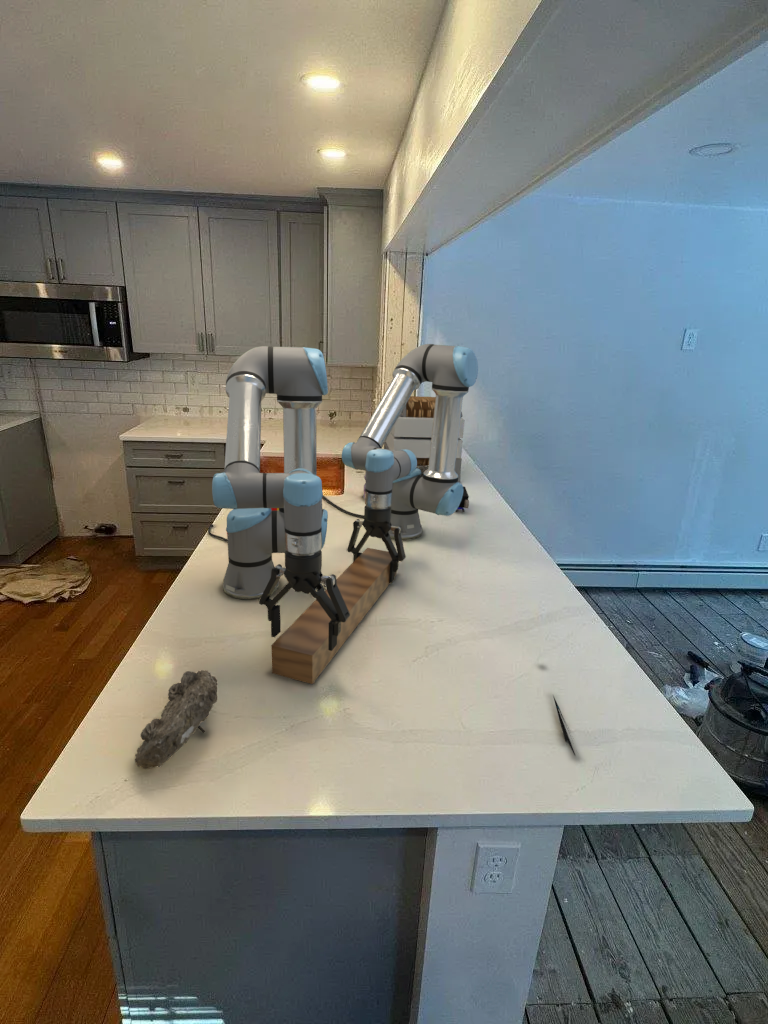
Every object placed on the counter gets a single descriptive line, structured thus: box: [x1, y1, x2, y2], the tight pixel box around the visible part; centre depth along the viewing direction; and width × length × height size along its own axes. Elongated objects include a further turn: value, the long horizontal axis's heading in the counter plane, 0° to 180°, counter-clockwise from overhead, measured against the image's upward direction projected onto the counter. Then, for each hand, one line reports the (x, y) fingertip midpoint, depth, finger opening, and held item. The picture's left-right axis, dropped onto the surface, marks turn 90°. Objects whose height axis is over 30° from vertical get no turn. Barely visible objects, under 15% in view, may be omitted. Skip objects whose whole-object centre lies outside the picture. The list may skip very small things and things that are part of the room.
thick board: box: [270, 547, 398, 685], centre depth 144 cm, size 57×10×7 cm, turn 161°
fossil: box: [134, 669, 218, 770], centre depth 103 cm, size 22×10×15 cm
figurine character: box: [455, 485, 470, 513], centre depth 227 cm, size 7×8×15 cm
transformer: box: [383, 395, 465, 483], centre depth 268 cm, size 34×33×41 cm
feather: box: [552, 695, 579, 756], centre depth 115 cm, size 2×28×2 cm
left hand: (303, 640), depth 123 cm, fingers open, 13 cm apart
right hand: (375, 577), depth 165 cm, fingers closed on thick board, 10 cm apart
